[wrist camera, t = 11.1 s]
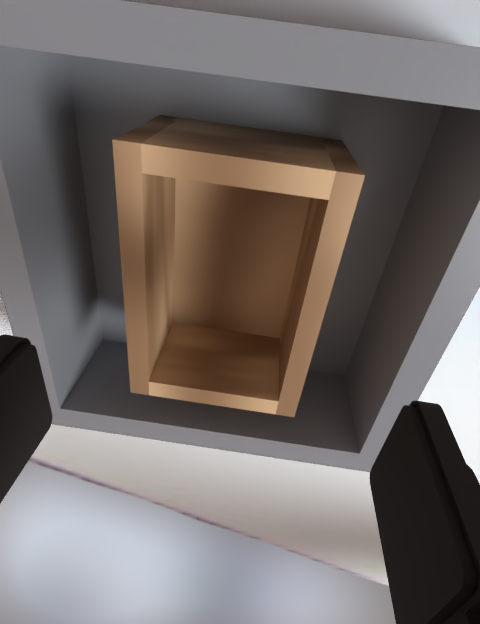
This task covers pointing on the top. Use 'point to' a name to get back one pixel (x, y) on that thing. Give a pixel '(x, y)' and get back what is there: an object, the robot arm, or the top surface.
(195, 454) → the top surface
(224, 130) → the box
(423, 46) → the grey open box
